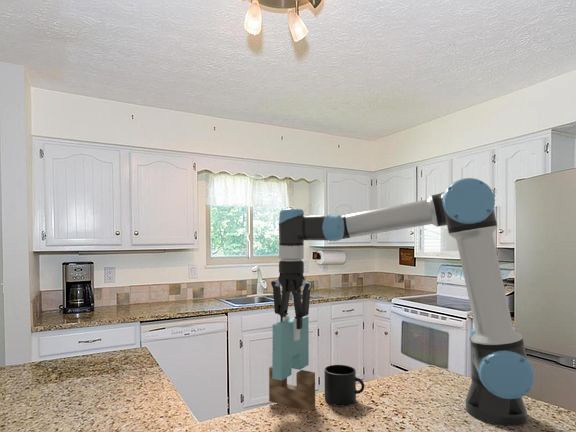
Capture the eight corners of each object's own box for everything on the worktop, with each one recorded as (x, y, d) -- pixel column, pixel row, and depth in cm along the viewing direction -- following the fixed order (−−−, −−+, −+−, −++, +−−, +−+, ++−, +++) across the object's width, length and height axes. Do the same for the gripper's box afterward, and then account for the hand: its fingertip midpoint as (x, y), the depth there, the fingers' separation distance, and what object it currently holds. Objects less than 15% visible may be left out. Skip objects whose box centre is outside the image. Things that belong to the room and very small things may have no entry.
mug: (363, 409, 111) (362, 376, 112) (322, 404, 114) (321, 373, 115) (365, 396, 120) (365, 366, 121) (327, 392, 124) (327, 363, 124)
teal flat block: (300, 363, 123) (300, 315, 124) (308, 364, 121) (308, 316, 122) (272, 378, 109) (272, 324, 110) (281, 380, 108) (281, 325, 108)
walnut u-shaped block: (315, 407, 112) (315, 372, 113) (310, 411, 110) (310, 375, 110) (274, 397, 119) (274, 364, 120) (269, 401, 117) (269, 367, 117)
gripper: (320, 260, 116) (321, 339, 115) (275, 258, 124) (275, 333, 123) (309, 261, 110) (309, 345, 108) (262, 259, 118) (261, 338, 117)
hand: (291, 339), depth 116 cm, fingers closed on teal flat block, 3 cm apart
